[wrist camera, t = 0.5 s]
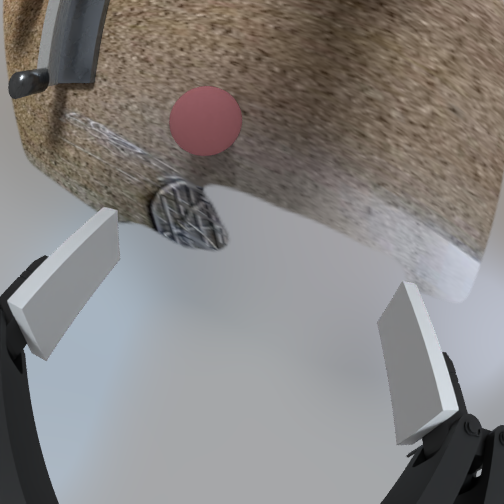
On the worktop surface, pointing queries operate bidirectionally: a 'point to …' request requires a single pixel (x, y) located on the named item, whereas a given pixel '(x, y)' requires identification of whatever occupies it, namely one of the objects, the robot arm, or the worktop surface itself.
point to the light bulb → (205, 121)
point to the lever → (44, 54)
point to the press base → (82, 41)
